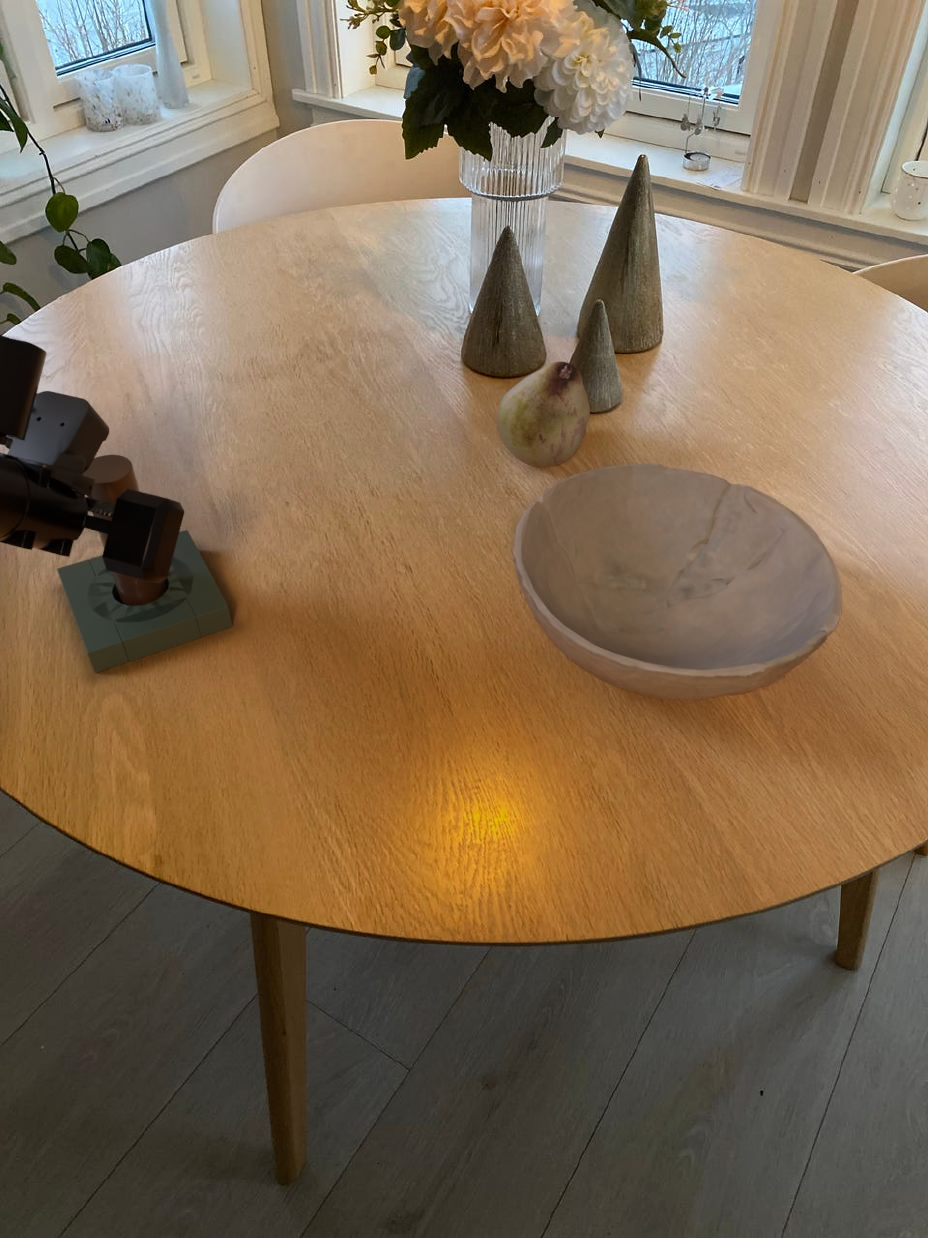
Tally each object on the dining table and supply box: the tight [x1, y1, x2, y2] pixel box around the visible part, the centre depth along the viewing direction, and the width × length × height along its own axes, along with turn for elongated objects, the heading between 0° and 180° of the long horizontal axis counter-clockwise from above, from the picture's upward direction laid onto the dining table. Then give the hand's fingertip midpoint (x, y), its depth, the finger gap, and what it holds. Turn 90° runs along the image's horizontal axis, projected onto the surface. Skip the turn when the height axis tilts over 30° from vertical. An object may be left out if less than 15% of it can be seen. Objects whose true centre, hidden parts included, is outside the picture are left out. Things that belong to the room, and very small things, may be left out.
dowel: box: [83, 454, 167, 606], centre depth 81 cm, size 4×4×15 cm
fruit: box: [496, 361, 591, 468], centre depth 100 cm, size 10×9×12 cm
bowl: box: [512, 463, 843, 701], centre depth 80 cm, size 26×26×10 cm
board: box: [56, 529, 234, 674], centre depth 85 cm, size 12×12×2 cm
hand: (125, 531), depth 80 cm, fingers open, 9 cm apart
